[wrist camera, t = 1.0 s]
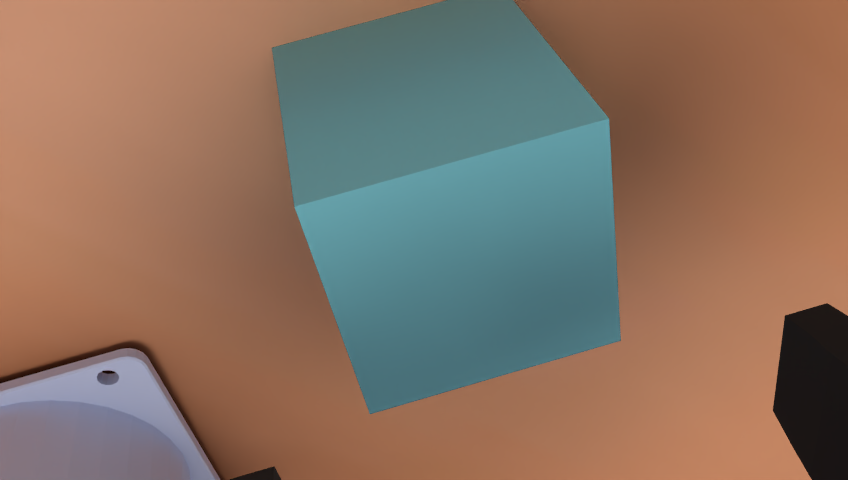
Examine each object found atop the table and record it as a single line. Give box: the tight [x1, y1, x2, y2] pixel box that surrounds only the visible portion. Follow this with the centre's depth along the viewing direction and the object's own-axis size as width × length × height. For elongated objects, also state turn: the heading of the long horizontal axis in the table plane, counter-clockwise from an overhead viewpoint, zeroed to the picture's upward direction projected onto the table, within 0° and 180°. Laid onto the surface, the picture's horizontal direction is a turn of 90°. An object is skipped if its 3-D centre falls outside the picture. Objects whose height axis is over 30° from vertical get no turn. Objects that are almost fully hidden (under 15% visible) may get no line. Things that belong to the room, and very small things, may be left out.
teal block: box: [272, 0, 621, 414], centre depth 16 cm, size 5×5×6 cm
